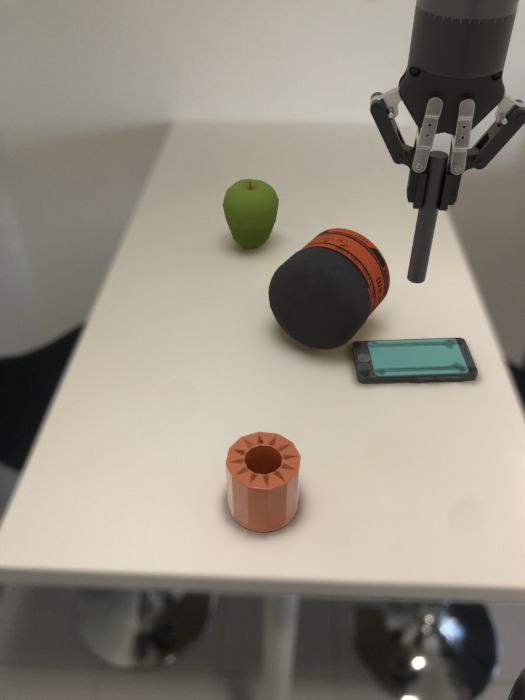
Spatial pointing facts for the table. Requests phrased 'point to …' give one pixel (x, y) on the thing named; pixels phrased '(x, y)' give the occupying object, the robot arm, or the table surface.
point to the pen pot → (263, 481)
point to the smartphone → (413, 360)
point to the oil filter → (329, 288)
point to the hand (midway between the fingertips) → (429, 205)
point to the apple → (250, 212)
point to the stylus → (427, 216)
